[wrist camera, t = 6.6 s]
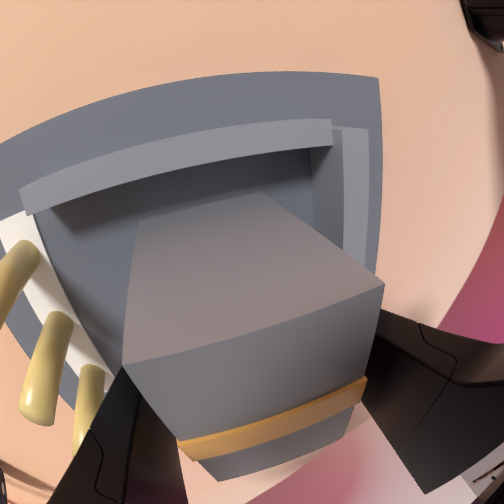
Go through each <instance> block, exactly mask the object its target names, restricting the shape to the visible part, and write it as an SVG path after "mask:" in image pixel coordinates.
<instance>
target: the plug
mask: <svg viewBox="0 0 504 504" xmlns="http://www.w3.org/2000/svg"><path fill="white" fill-rule="evenodd" d="M384 287H385V283H384V282H383V281H381V280H380V279H379V278H378V277H376V276H375V275H374V274H373V273H371V272H370V271H369V270H367V269H366V268H365V267H364V266H362V265H361V264H360V263H358V262H357V261H356V260H355V259H353V258H352V257H351V256H349V255H348V254H347V253H345V252H344V251H343V250H341V249H340V248H339V247H337V246H336V245H335V244H333V243H332V242H331V241H329V240H328V239H327V238H325V237H324V236H323V235H321V234H320V233H319V232H317V231H316V230H314V229H313V228H312V227H310V226H309V225H308V224H306V223H305V222H303V221H302V220H301V219H299V218H298V217H296V216H295V215H294V214H292V213H291V212H289V211H288V210H286V209H285V208H284V207H282V206H281V205H279V204H278V203H276V202H275V201H274V200H272V199H271V198H269V197H268V196H266V195H265V194H263V193H262V192H260V191H256V192H251V193H246V194H241V195H237V196H232V197H227V198H223V199H218V200H214V201H209V202H205V203H201V204H197V205H192V206H188V207H184V208H180V209H176V210H172V211H168V212H164V213H160V214H156V215H153V216H149V217H145V218H141V219H139V224H138V229H137V235H136V240H135V246H134V252H133V258H132V264H131V271H130V278H129V286H128V294H127V303H126V312H125V323H124V336H123V353H122V366H123V368H124V369H125V371H126V372H127V374H128V375H129V377H130V378H131V380H132V381H133V383H134V384H135V385H136V387H137V388H138V390H139V391H140V393H141V394H142V395H143V397H144V398H145V399H146V401H147V402H148V403H149V405H150V406H151V407H152V409H153V410H154V411H155V413H156V414H157V415H158V416H159V418H160V419H161V420H162V421H163V423H164V424H165V425H166V426H167V428H168V429H169V430H170V431H171V432H172V434H173V435H174V436H175V437H176V439H177V444H178V447H179V448H180V449H181V450H182V451H183V452H184V453H185V454H186V455H187V456H188V457H189V458H190V459H191V460H192V461H198V462H199V463H200V464H201V465H202V466H203V467H204V468H205V469H206V470H207V471H208V472H209V473H210V474H211V475H212V476H213V477H214V478H215V479H216V480H217V481H218V482H220V481H224V480H229V479H233V478H236V477H240V476H244V475H247V474H251V473H254V472H258V471H261V470H264V469H267V468H270V467H273V466H276V465H279V464H282V463H285V462H287V461H290V460H293V459H295V458H298V457H300V456H303V455H305V454H308V453H310V452H313V451H315V450H317V449H319V448H322V447H324V446H326V445H328V444H330V443H333V442H335V441H337V440H339V439H341V438H342V437H343V435H344V433H345V430H346V427H347V425H348V422H349V419H350V417H351V414H352V411H353V408H354V405H355V404H357V403H359V402H360V400H361V398H362V395H363V392H364V389H365V386H366V383H367V380H368V379H367V378H366V377H365V375H364V373H365V370H366V366H367V363H368V359H369V356H370V352H371V348H372V344H373V340H374V336H375V331H376V327H377V322H378V318H379V313H380V308H381V303H382V298H383V292H384Z"/></svg>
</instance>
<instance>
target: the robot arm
mask: <svg viewBox="0 0 504 504" xmlns="http://www.w3.org/2000/svg"><path fill="white" fill-rule="evenodd" d="M462 3H463V7H464V10H465V14H466V18H467V22H468V25H469V28H470V30H471V31H472V32H473V33H474V34H475V35H477V36H478V37H480V38H481V39H482V40H484V41H485V42H486V43H487V44H489V45H490V46H491V47H493V48H494V49H495V50H496V51H498V52H499V53H504V49H503V44H502V41H503V42H504V0H462ZM364 375H365V377H366V378H367V379H368V380H367V383H366V386H365V389H364V392H363V395H362V398H361V401H362V403H363V404H364V406H365V407H366V409H367V410H368V412H369V413H370V415H371V416H372V417H373V419H374V420H375V422H376V423H377V425H378V426H379V428H380V429H381V431H382V432H383V433H384V435H385V437H386V438H387V440H388V441H389V443H390V444H391V446H392V447H393V449H394V450H395V451H396V453H397V454H398V456H399V458H400V459H401V460H402V462H403V463H404V465H405V467H406V468H407V469H408V471H409V472H410V474H411V475H412V477H413V478H414V480H415V481H416V483H417V484H418V486H419V487H420V489H421V490H422V492H423V493H424V494H427V493H429V492H431V491H433V490H435V489H437V488H438V487H440V486H442V485H443V484H445V483H447V482H449V481H450V480H452V479H454V478H455V477H457V476H458V475H461V476H462V477H463V479H464V480H465V481H466V483H467V484H468V485H469V487H470V488H471V489H472V491H473V492H474V493H475V495H476V496H477V498H476V499H475V500H474V501H473V502H472V503H471V504H504V343H503V344H493V343H488V342H483V341H480V340H476V339H471V338H468V337H464V336H460V335H456V334H452V333H449V332H445V331H442V330H439V329H436V328H433V327H430V326H427V325H424V324H422V323H417V322H416V321H413V320H410V319H408V318H405V317H402V316H399V315H397V314H394V313H391V312H388V311H386V310H383V309H380V313H379V318H378V322H377V327H376V331H375V336H374V340H373V344H372V348H371V352H370V356H369V359H368V363H367V366H366V370H365V373H364ZM46 504H189V503H188V499H187V495H186V490H185V485H184V480H183V475H182V470H181V465H180V459H179V453H178V447H177V441H176V437H175V436H174V435H173V434H172V432H171V431H170V430H169V429H168V428H167V426H166V425H165V424H164V423H163V421H162V420H161V419H160V418H159V416H158V415H157V414H156V413H155V411H154V410H153V409H152V407H151V406H150V405H149V403H148V402H147V401H146V399H145V398H144V397H143V395H142V394H141V393H140V391H139V390H138V388H137V387H136V385H135V384H134V383H133V381H132V380H131V378H130V377H129V375H128V374H127V372H126V371H125V369H124V368H123V366H121V368H120V369H119V371H118V373H117V375H116V377H115V378H114V380H113V382H112V384H111V386H110V388H109V390H108V392H107V393H106V395H105V397H104V399H103V401H102V403H101V405H100V407H99V409H98V411H97V413H96V415H95V417H94V419H93V421H92V423H91V425H90V429H88V431H87V433H86V435H85V437H84V439H83V441H82V443H81V445H80V447H79V449H78V451H77V453H76V455H75V456H74V458H73V460H72V462H71V463H70V465H69V467H68V469H67V470H66V472H65V474H64V475H63V477H62V479H61V480H60V482H59V484H58V485H57V487H56V489H55V491H54V492H53V494H52V496H51V498H50V499H49V501H48V502H47V503H46Z"/></svg>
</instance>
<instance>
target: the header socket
mask: <svg viewBox="0 0 504 504" xmlns="http://www.w3.org/2000/svg"><path fill="white" fill-rule="evenodd" d="M382 166H383V155H382V120H381V104H380V92H379V81H378V78H375V77H367V76H359V75H350V74H339V73H325V72H295V71H283V72H253V73H239V74H227V75H218V76H210V77H202V78H195V79H189V80H183V81H177V82H172V83H166V84H162V85H157V86H152V87H148V88H144V89H139V90H135V91H132V92H128V93H124V94H120V95H117V96H113V97H110V98H107V99H104V100H100V101H97V102H94V103H91V104H88V105H86V106H83V107H80V108H77V109H75V110H72V111H69V112H67V113H64V114H62V115H59V116H57V117H54V118H52V119H50V120H47V121H45V122H43V123H41V124H38V125H36V126H34V127H32V128H30V129H28V130H26V131H24V132H22V133H20V134H18V135H16V136H14V137H12V138H10V139H8V140H7V141H5V142H3V143H1V144H0V329H1V327H2V325H3V323H4V322H5V323H6V324H7V326H8V327H9V329H10V331H11V332H12V334H13V335H14V337H15V338H16V340H17V341H18V343H19V344H20V346H21V347H22V348H23V350H24V351H25V353H26V354H27V355H28V357H29V358H30V360H31V361H30V365H29V368H28V371H27V374H26V378H25V381H24V385H23V388H22V392H21V396H20V400H19V404H18V410H19V412H20V413H21V414H22V415H23V416H24V417H25V418H26V419H28V420H29V421H31V422H33V423H35V424H38V425H41V426H52V425H53V424H54V419H55V411H56V405H57V398H58V394H59V395H60V396H61V397H62V398H63V399H64V400H65V401H66V402H67V403H68V405H69V406H70V407H71V408H72V409H73V410H74V411H75V416H74V429H73V448H72V455H73V457H74V456H75V455H76V453H77V451H78V449H79V447H80V445H81V443H82V441H83V439H84V437H85V435H86V433H87V431H88V429H90V425H91V423H92V421H93V419H94V417H95V415H96V413H97V411H98V409H99V407H100V405H101V403H102V401H103V399H104V397H105V395H106V393H107V392H108V390H109V388H110V386H111V384H112V382H113V380H114V378H115V377H116V375H117V373H118V371H119V369H120V368H121V366H122V353H123V336H124V323H125V312H126V303H127V294H128V286H129V278H130V271H131V264H132V258H133V252H134V246H135V240H136V235H137V229H138V224H139V219H141V218H145V217H149V216H153V215H156V214H160V213H164V212H168V211H172V210H176V209H180V208H184V207H188V206H192V205H197V204H201V203H205V202H209V201H214V200H218V199H223V198H227V197H232V196H237V195H241V194H246V193H251V192H256V191H260V192H262V193H263V194H265V195H266V196H268V197H269V198H271V199H272V200H274V201H275V202H276V203H278V204H279V205H281V206H282V207H284V208H285V209H286V210H288V211H289V212H291V213H292V214H294V215H295V216H296V217H298V218H299V219H301V220H302V221H303V222H305V223H306V224H308V225H309V226H310V227H312V228H313V229H314V230H316V231H317V232H319V233H320V234H321V235H323V236H324V237H325V238H327V239H328V240H329V241H331V242H332V243H333V244H335V245H336V246H337V247H339V248H340V249H341V250H343V251H344V252H345V253H347V254H348V255H349V256H351V257H352V258H353V259H355V260H356V261H357V262H358V263H360V264H361V265H362V266H364V267H365V268H366V269H367V270H369V271H370V272H371V273H373V274H374V275H375V269H376V261H377V252H378V242H379V231H380V218H381V201H382Z"/></svg>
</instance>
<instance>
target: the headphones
mask: <svg viewBox="0 0 504 504" xmlns="http://www.w3.org/2000/svg"><path fill="white" fill-rule="evenodd" d="M0 504H8V503H7V493H6V485H5V478H4V474H3V471H2V469H1V468H0Z"/></svg>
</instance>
